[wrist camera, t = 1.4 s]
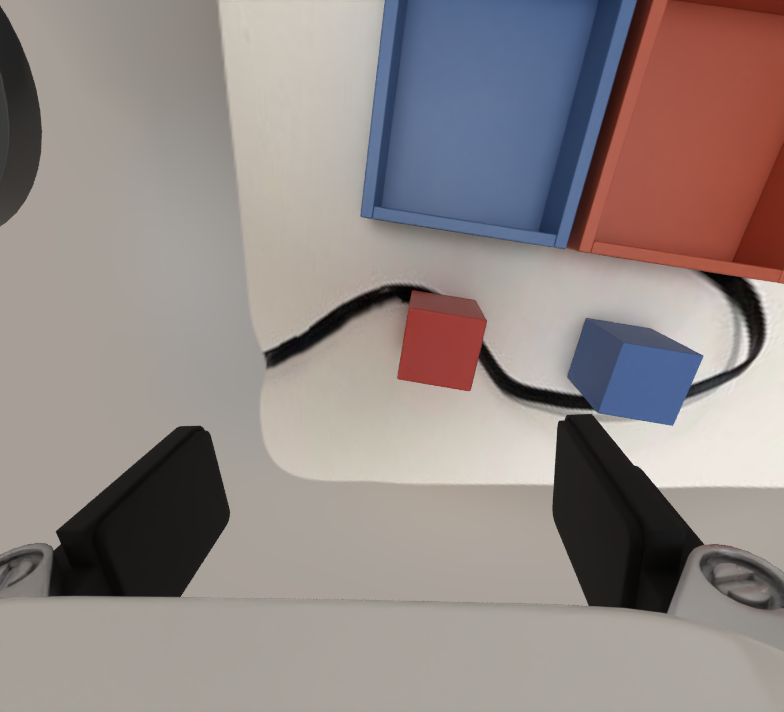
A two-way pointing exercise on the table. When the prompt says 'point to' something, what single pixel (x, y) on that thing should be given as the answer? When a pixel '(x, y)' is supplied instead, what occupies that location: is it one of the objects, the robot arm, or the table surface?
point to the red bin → (693, 142)
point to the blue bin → (490, 113)
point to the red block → (441, 340)
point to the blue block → (632, 371)
